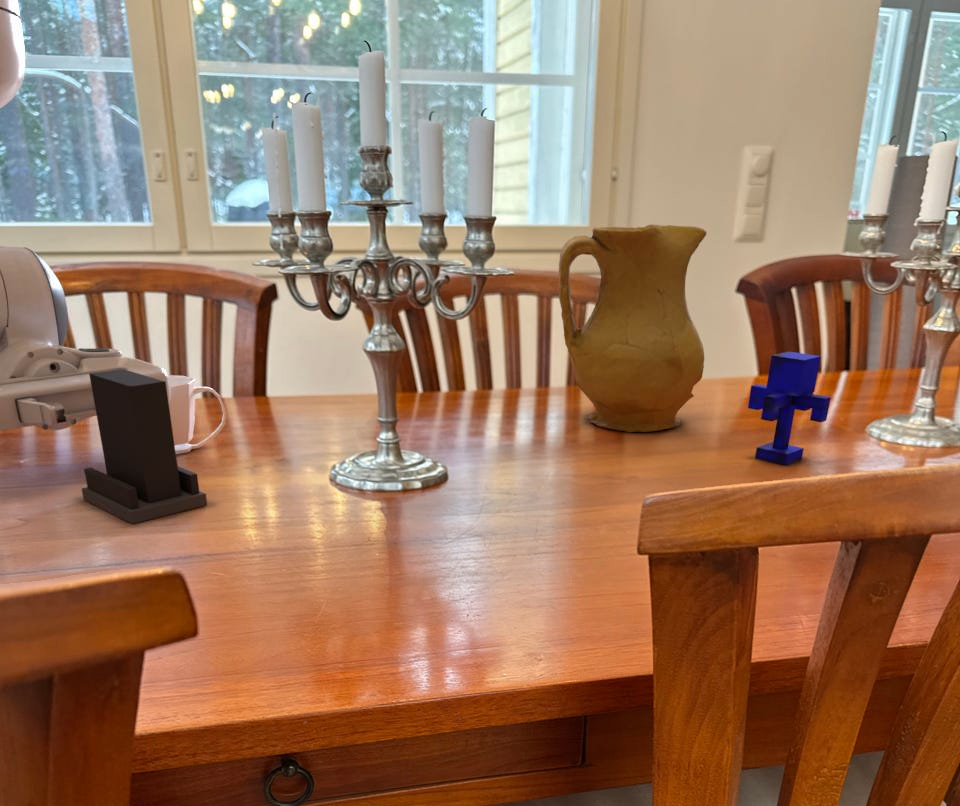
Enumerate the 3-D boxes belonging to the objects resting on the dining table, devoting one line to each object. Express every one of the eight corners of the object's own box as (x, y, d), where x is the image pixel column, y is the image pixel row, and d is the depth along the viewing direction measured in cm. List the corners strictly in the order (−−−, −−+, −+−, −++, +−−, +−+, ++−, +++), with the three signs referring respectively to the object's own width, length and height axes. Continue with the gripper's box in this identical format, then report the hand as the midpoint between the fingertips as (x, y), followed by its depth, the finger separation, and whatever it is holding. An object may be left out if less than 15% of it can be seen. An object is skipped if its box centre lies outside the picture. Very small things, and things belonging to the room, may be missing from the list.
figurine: (799, 451, 111) (818, 350, 106) (819, 468, 104) (841, 362, 99) (738, 449, 111) (754, 349, 106) (755, 467, 104) (773, 360, 99)
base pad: (132, 524, 84) (126, 491, 82) (83, 499, 90) (77, 468, 88) (207, 505, 89) (203, 473, 87) (156, 483, 95) (152, 453, 93)
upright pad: (148, 503, 85) (130, 386, 80) (108, 485, 90) (88, 373, 85) (181, 495, 88) (165, 381, 83) (141, 478, 92) (123, 369, 87)
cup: (140, 444, 108) (129, 376, 105) (225, 438, 112) (217, 371, 108) (145, 460, 102) (133, 388, 99) (233, 452, 106) (226, 383, 102)
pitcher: (672, 441, 112) (688, 221, 102) (541, 427, 121) (544, 225, 111) (716, 419, 126) (734, 222, 115) (595, 408, 135) (602, 225, 125)
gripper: (-66, 368, 89) (-12, 390, 80) (128, 346, 102) (192, 363, 94) (-50, 431, 92) (4, 459, 83) (137, 402, 105) (200, 423, 96)
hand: (105, 408), depth 88 cm, fingers open, 8 cm apart
